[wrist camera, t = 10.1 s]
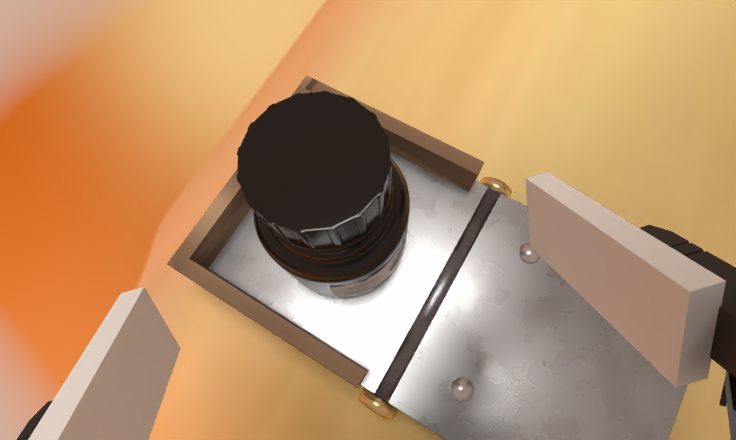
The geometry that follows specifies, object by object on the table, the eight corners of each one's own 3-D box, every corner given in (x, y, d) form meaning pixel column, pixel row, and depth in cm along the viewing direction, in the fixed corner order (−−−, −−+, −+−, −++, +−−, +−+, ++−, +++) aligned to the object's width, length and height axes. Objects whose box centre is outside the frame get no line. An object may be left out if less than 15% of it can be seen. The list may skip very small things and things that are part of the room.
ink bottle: (372, 326, 28) (359, 303, 16) (255, 272, 29) (168, 217, 18) (427, 198, 30) (449, 100, 19) (317, 155, 32) (276, 41, 20)
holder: (313, 99, 33) (306, 75, 30) (475, 180, 30) (484, 162, 28) (188, 273, 29) (166, 264, 26) (360, 384, 27) (357, 387, 24)
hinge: (324, 108, 36) (319, 88, 33) (694, 295, 30) (724, 288, 27) (196, 290, 32) (178, 283, 29) (598, 553, 25) (622, 576, 23)
